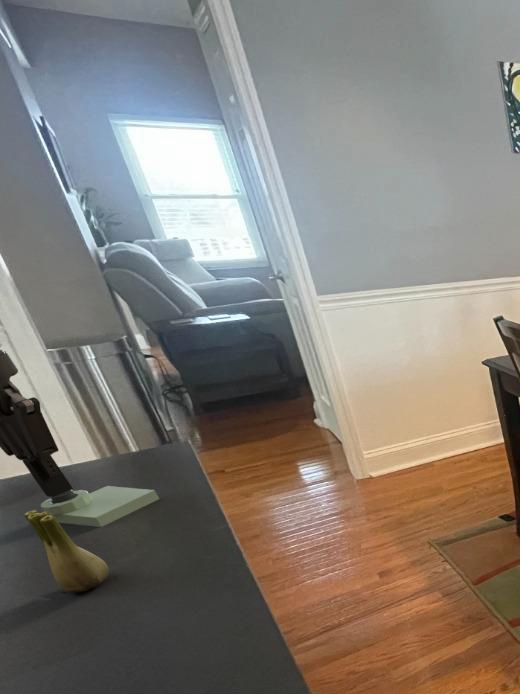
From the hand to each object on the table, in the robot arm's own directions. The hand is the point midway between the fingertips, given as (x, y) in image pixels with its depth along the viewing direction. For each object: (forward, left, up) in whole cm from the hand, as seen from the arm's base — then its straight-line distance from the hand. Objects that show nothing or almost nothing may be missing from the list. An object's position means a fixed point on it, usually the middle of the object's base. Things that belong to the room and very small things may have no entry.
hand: (59, 492), depth 99 cm
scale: (+4, +2, -5) cm, 6 cm away
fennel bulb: (+26, -14, -5) cm, 30 cm away
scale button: (0, 0, -2) cm, 2 cm away
